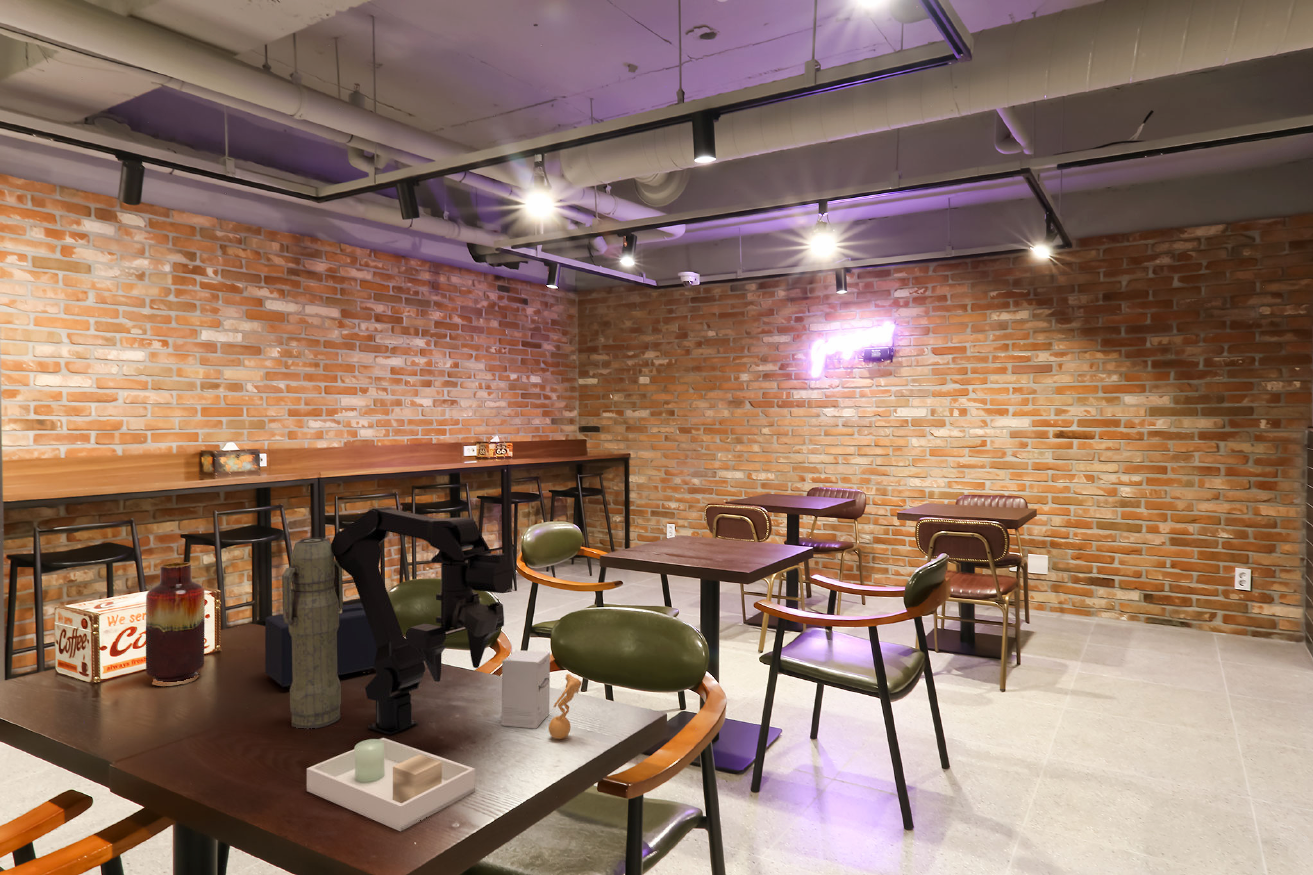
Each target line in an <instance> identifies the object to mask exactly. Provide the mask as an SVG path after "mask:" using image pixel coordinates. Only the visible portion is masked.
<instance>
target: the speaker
mask: <svg viewBox="0 0 1313 875" xmlns="http://www.w3.org/2000/svg"><path fill="white" fill-rule="evenodd" d="M264 625H265V630H264V631H265V634H264V635H265V638H264V639H265V642H264V643H265V645H264V646H265V650H264V652H265V653H264V656H265V657H264V659H265V662H264V664H265V665H264V666H265V667H264V668H265V669H264V671H265V672H264V673H265V674H266V675H268V676H269V677H270V678H271V679H272V680H274V681H275V682H276V683H277V684H279V685H280V686H281V687H283V688H284V687H285V688H287V689H288V688H291V685H292V682H293V672H292V637H291V635H290V633H289V624H285V623H284V618H283V613H282V614H276V615H269V616H266V617H265V624H264ZM376 652H377V645H376V642H375V639H374V636H373V634H372V631H371V628H370V625H369V622H368V619H367V617H366V614H365V611H364V608H363V605H362V603H361V602H358V603H352V604H343V608H342V609H341V610H340V612H339V628H338V630H337V676H338V677H339V676H341V675H347V674H352V673H356V672H362V673H363V672H365V673H367V674H369V673H368V672H370V673H371V672H372V669H375V666H374V663H375V658H376ZM365 673H364V674H365Z"/></svg>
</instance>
